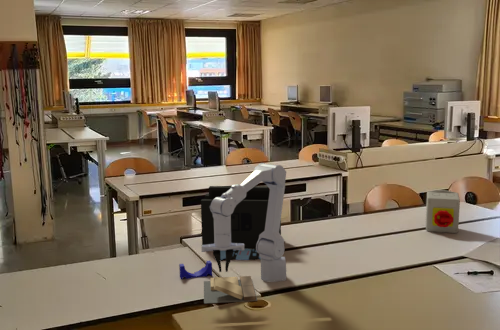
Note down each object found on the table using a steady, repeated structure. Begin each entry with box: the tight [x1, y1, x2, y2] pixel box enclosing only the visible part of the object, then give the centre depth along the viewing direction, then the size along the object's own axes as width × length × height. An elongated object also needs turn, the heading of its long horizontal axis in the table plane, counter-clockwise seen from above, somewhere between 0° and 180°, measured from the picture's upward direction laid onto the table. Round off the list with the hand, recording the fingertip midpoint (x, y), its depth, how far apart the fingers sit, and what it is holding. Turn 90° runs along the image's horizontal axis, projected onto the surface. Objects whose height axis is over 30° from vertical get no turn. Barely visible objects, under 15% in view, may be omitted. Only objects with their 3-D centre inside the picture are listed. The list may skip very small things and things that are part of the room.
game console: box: [200, 185, 282, 261], centre depth 236 cm, size 35×30×27 cm
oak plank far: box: [209, 276, 239, 290], centre depth 194 cm, size 10×8×1 cm
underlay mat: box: [203, 279, 258, 304], centre depth 189 cm, size 18×20×1 cm
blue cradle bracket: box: [178, 260, 213, 280], centre depth 204 cm, size 12×4×6 cm, turn 107°
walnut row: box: [239, 275, 257, 302], centre depth 190 cm, size 4×19×1 cm, turn 5°
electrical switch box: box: [425, 189, 461, 234], centre depth 258 cm, size 15×15×20 cm
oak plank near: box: [213, 276, 243, 299], centre depth 183 cm, size 10×8×1 cm
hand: (223, 270), depth 183 cm, fingers closed
